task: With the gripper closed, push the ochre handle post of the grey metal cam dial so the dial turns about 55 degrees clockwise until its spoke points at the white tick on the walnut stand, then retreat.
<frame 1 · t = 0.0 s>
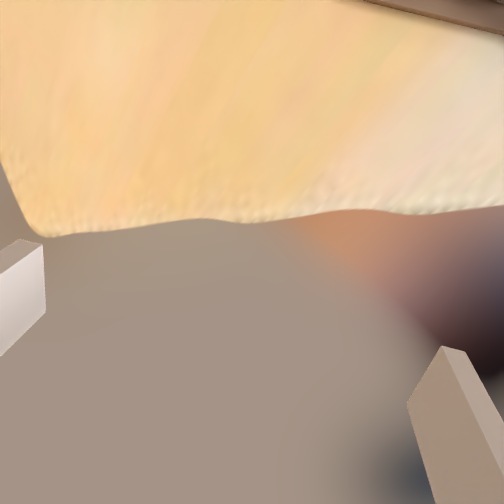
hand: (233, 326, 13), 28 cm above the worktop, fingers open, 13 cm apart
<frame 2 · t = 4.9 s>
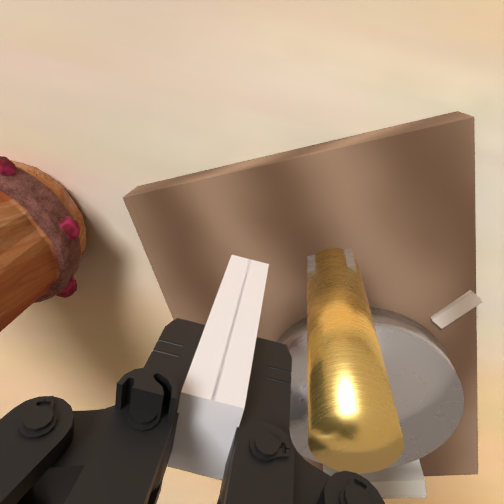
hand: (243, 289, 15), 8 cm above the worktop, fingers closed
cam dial: (361, 433, 17), point 8 cm above the worktop, hinge at -0.2°, touching gripper
mug: (8, 181, 23), on the worktop
stand: (322, 333, 25), on the worktop
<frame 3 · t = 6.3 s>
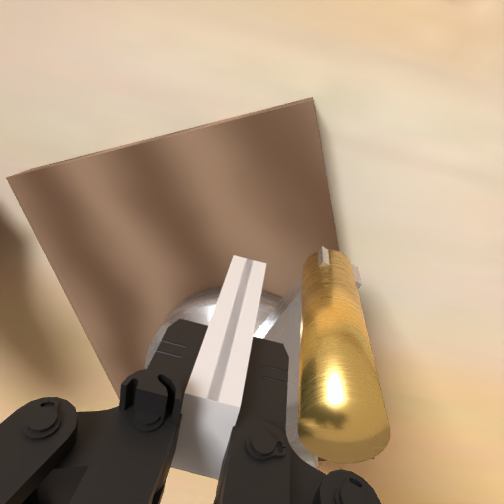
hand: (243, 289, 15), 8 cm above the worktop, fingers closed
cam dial: (248, 410, 18), point 8 cm above the worktop, hinge at -44.4°, touching gripper
stand: (218, 316, 26), on the worktop
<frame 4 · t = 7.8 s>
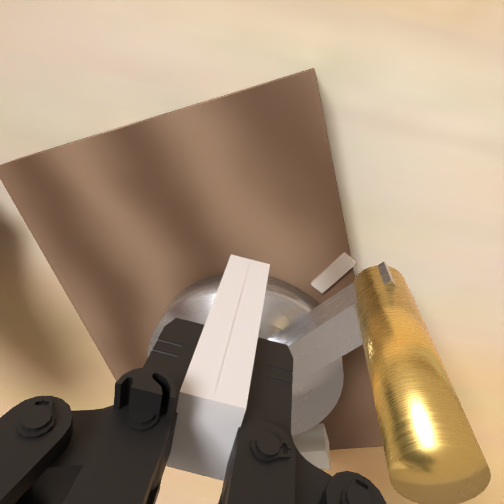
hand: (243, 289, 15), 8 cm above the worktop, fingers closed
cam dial: (268, 409, 17), point 8 cm above the worktop, hinge at -61.7°
stand: (222, 305, 25), on the worktop
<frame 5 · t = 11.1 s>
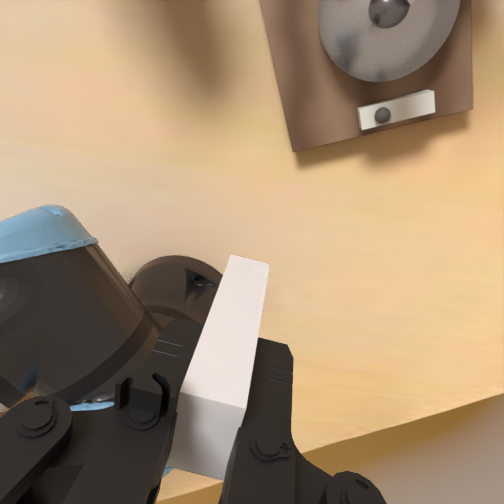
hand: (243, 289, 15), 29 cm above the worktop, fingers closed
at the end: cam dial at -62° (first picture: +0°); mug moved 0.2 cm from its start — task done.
